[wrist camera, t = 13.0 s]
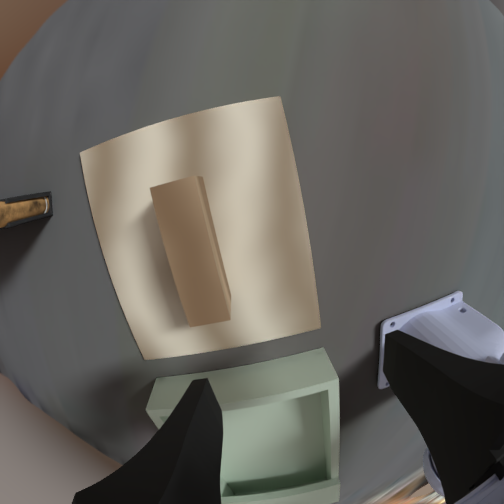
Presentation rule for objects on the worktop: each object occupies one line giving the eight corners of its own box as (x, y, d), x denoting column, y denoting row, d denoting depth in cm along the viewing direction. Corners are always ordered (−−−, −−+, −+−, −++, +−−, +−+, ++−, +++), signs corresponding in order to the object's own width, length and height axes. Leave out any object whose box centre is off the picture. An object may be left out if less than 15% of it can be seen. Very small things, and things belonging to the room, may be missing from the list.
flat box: (323, 347, 20) (343, 387, 16) (330, 474, 27) (338, 501, 22) (156, 377, 20) (142, 419, 16) (230, 491, 27) (230, 519, 22)
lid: (277, 100, 16) (290, 77, 12) (317, 321, 21) (335, 354, 16) (86, 153, 16) (51, 149, 12) (147, 353, 20) (132, 387, 16)
